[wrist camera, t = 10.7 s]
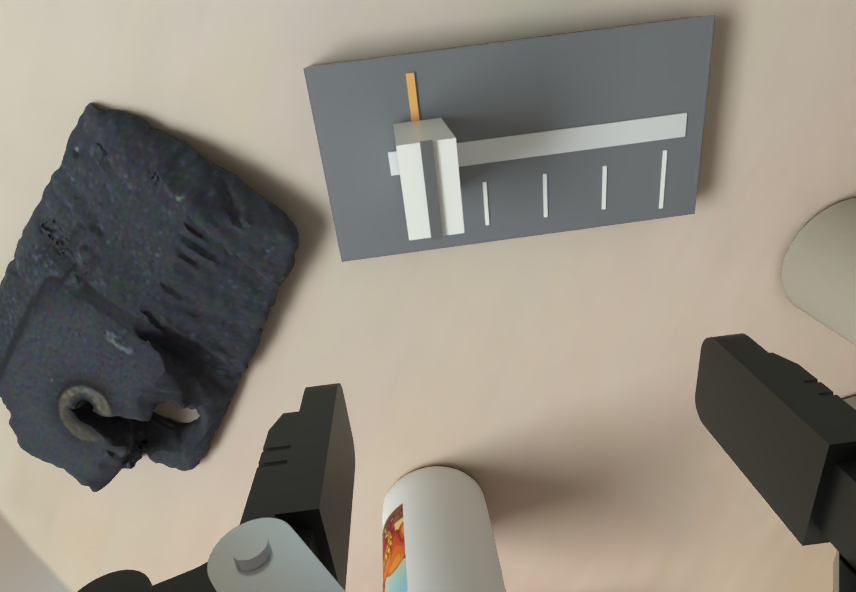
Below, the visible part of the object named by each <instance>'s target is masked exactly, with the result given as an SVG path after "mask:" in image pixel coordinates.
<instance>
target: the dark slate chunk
mask: <svg viewBox="0 0 856 592" xmlns="http://www.w3.org/2000/svg"><path fill="white" fill-rule="evenodd" d="M298 236H299V234H298V231H297V228H296V226H295V225H294V223H293V222H292V221H291V220H290V219H289V218H288V217H287V215H286V214H285V213H284V212H283V211H282V210H280V209H279V208H278V207H276V206H275V205H273V204H271V203H269V202H268V201H266V200H265V199H263V198H262V197H261V196H260V195H258V194H257V193H255V192H254V191H253V190H251V189H250V188H249V187H248V186H246V185H245V184H244V183H243V182H242V180H241V179H240V178H239V177H238V176H236V175H232V174H231V173H230V172H228V171H227V170H225V169H223V168H220V167H218V166H216V165H215V164H214V163H212V164H210V163H209V162H208V161H207V160H206V159H204V158H203V157H202V156H201V155H200V154H198V153H197V152H196V151H195V150H193V149H192V148H191V147H190V146H189V145H187V144H186V143H185V142H183V141H181V140H178V139H176V138H174V137H172V136H170V135H167V134H166V133H165V132H163V131H160V130H153V129H151V128H149V126H148V124H147V123H146V122H145V121H143V120H142V119H141V118H139V117H138V116H134V115H129V114H126V113H124V112H122V111H120V110H108V111H105V110H99V109H96V108H95V107H94V106H93V105H92V104H91V103H90V104H88V105H87V106H86V108H85V110H84V113H83V114H82V115H81V116H80V118H79V120H78V124H77V126H76V127H75V129H74V130H73V131H72V133H71V134H70V137H69V139H68V143H67V147H66V151H65V154H64V157H63V161H62V164H61V166H60V168H59V169H58V170H56V171H55V172H54V173H53V174H52V176H51V181H50V183H49V184H48V185H47V186H46V188H45V189H44V192H43V196H42V200H41V201H40V203H39V204H38V206H37V207H36V208H35V210H34V212H33V214H32V216H31V218H30V220H29V222H28V223H27V225H26V226H25V228H24V230H23V234H22V237H21V239H20V240H19V241H18V244H17V248H16V251H15V254H14V258H15V259H14V260H13V261H11V262H10V263H9V264H8V266H7V269H6V272H5V274H6V275H5V276H4V278H3V280H2V281H1V284H0V397H1V398H2V401H3V403H4V404H5V405H6V407H7V409H8V410H9V411H10V413H11V418H10V420H9V425H10V426H11V428H12V429H13V431H14V433H15V434H16V436H17V438H18V444H19V445H20V447H21V448H22V449H23V450H25V451H26V452H28V453H29V454H30V455H32V456H34V457H36V458H39V459H41V460H42V461H45V462H48V463H51V464H53V465H55V466H56V467H59V468H63V469H65V470H66V471H67V472H68V473H69V474H70V475H72V476H73V477H74V478H76V479H77V481H78V482H79V483H80V484H81V485H85V486H89V487H90V488H91V490H92V491H93V492H97V491H99V490H101V489H102V488H103V487H105V486H106V485H107V484H108V483H109V482H110V481H111V480H112V479H113V478H114V477H115V476H116V475H117V474H118V473H119V471H120V470H121V469H123V468H129V469H132V468H133V467H134V466H135V463H136V462H137V461H138V460H140V459H141V458H142V456H141V453H140V452H146V453H147V455H148V456H149V458H150V459H151V460H152V461H153V462H155V463H162V464H165V465H166V466H168V467H170V468H177V469H179V470H182V471H186V470H191V469H193V468H195V467H196V466H197V465H198V464H199V462H200V459H201V458H202V457H204V456H205V454H206V453H207V451H208V450H209V447H210V442H211V440H212V439H213V437H214V434H215V431H216V430H217V429H218V427H219V426H220V424H221V421H222V418H223V416H224V414H225V413H226V410H227V407H228V405H229V403H230V399H231V397H232V395H233V394H234V391H235V390H236V388H237V381H238V380H239V379H240V377H241V372H244V371H245V370H246V369H247V368H248V362H249V360H250V358H251V357H252V356H253V354H254V352H255V351H256V348H257V346H258V344H259V341H260V335H261V333H262V328H261V327H262V326H263V324H264V323H265V322H266V321H267V318H268V315H269V312H270V308H271V307H272V306H273V304H274V302H275V299H276V296H277V291H278V288H279V286H280V285H281V284H282V282H283V281H284V279H285V278H286V277H287V275H288V274H289V272H290V271H291V269H292V267H293V265H294V262H295V258H294V254H295V252H296V250H297V248H298ZM166 401H170V402H173V403H174V402H175V403H176V405H177V407H179V408H186V407H188V408H190V409H195V408H196V409H197V412H198V414H199V415H200V417H199V418H198V419H197V420H195V421H192V422H190V423H178V422H175V421H173V420H171V419H167V418H164V417H162V416H160V415H158V414H156V413H155V412H154V411H153V410H154V409H155V407H156V406H157V404H160V403H163V402H166ZM141 445H142V446H141ZM140 447H142V448H141V449H140ZM140 450H143V451H140Z"/></svg>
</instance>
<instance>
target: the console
mask: <svg viewBox="0 0 856 592" xmlns="http://www.w3.org/2000/svg"><path fill="white" fill-rule="evenodd" d="M714 18H715V15H714V16H698V17H688V18H680V19H673V20H665V21H657V22H649V23H641V24H634V25H626V26H618V27H610V28H603V29H595V30H587V31H579V32H572V33H564V34H556V35H548V36H540V37H533V38H525V39H517V40H509V41H502V42H494V43H486V44H478V45H471V46H463V47H455V48H447V49H439V50H432V51H424V52H416V53H408V54H401V55H393V56H385V57H377V58H370V59H362V60H354V61H346V62H338V63H331V64H323V65H315V66H308V67H306V68H304V73H305V79H306V84H307V89H308V94H309V99H310V104H311V109H312V114H313V119H314V124H315V129H316V134H317V139H318V144H319V149H320V154H321V159H322V164H323V169H324V174H325V179H326V184H327V189H328V194H329V199H330V204H331V209H332V215H333V220H334V225H335V230H336V235H337V240H338V245H339V250H340V255H341V260H342V262H344V261H351V260H358V259H366V258H373V257H380V256H388V255H395V254H402V253H410V252H417V251H424V250H432V249H439V248H446V247H454V246H461V245H468V244H476V243H483V242H490V241H498V240H505V239H512V238H520V237H527V236H534V235H542V234H549V233H556V232H564V231H571V230H578V229H586V228H593V227H600V226H608V225H615V224H622V223H630V222H637V221H644V220H652V219H659V218H666V217H674V216H681V215H688V214H695V205H696V195H697V185H698V176H699V166H700V156H701V146H702V136H703V126H704V117H705V107H706V97H707V87H708V77H709V67H710V58H711V48H712V38H713V28H714ZM435 118H442V120H443V121H444V122H445V124H446V125H447V127H448V128H449V129H450V131H451V132H452V133H453V135H454V136H455V137H456V144H457V155H458V166H459V177H460V188H461V199H462V210H463V222H464V233H461V234H453V235H446V236H443V239H437V240H431V238H424V239H417V240H409V236H408V229H407V222H406V215H405V208H404V200H403V193H402V186H401V179H400V171H399V164H398V157H397V150H396V142H395V135H394V128H393V124H397V123H404V122H412V121H420V120H427V119H435Z"/></svg>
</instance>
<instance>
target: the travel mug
mask: <svg viewBox="0 0 856 592" xmlns="http://www.w3.org/2000/svg"><path fill="white" fill-rule="evenodd" d="M781 280H782V287H783V290H784V292H785V295H786V296H787V298H788V299H789V301H790V302H791V303H792V304H793V305H794V306H796V307H797V308H799V309H800V310H802V311H803V312H805V313H806V314H808V315H809V316H811V317H813V318H814V319H816V320H817V321H819V322H820V323H822V324H823V325H825V326H826V327H828V328H829V329H831V330H832V331H834V332H836V333H837V334H839V335H840V336H842V337H843V338H845V339H846V340H848V341H849V342H851V343H852V344H854V345H856V198H852V199H848V200H845V201H842V202H839V203H837V204H834V205H832V206H830V207H829V208H827V209H825V210H824V211H822V212H820V213H819V214H818V215H816V216H815V217H814V218H813V219H811V220H810V221H809V222H808V223H807V224H806V225H805V226H804V227H803V228H802V229H801V231H800V232H799V233H798V234H797V236H796V237H795V238H794V240H793V241H792V243H791V245H790V247H789V248H788V251H787V253H786V255H785V258H784V261H783V265H782V272H781Z"/></svg>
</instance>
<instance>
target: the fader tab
mask: <svg viewBox="0 0 856 592" xmlns="http://www.w3.org/2000/svg"><path fill="white" fill-rule="evenodd" d="M393 128H394V135H395V142H396V150H397V157H398V164H399V171H400V179H401V186H402V193H403V200H404V208H405V215H406V222H407V229H408V236H409V240H417V239H424V238H431V240H437V239H443V236H446V235H453V234H461V233H464V222H463V210H462V199H461V188H460V177H459V166H458V155H457V144H456V137H455V136H454V135H453V133H452V132H451V131H450V129H449V128H448V127H447V125H446V124H445V122H444V121H443V120H442V118H435V119H427V120H420V121H412V122H404V123H397V124H393Z"/></svg>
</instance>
